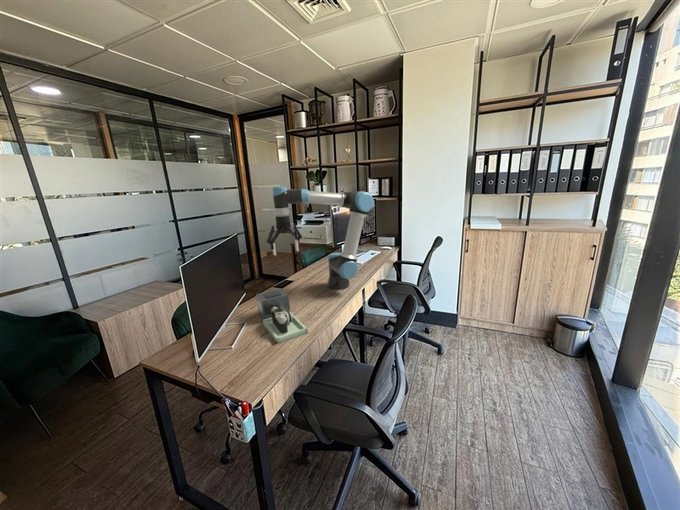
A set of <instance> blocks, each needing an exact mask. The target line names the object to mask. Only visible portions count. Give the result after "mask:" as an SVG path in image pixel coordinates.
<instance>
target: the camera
mask: <svg viewBox="0 0 680 510" xmlns="http://www.w3.org/2000/svg"><path fill="white" fill-rule="evenodd" d="M291 313H292V312H291V310H290V311H285V310H284V309H283V308H282V307H279V308H276V307H273V308H272V309H271V314H272V321H273V323H274V325H275V326H276V328H277V329H278V330H279V332H280V333H281V334H287V333H288V328H287V323H290V322H292V315H291Z"/></svg>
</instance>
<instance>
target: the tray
mask: <svg viewBox="0 0 680 510" xmlns="http://www.w3.org/2000/svg"><path fill="white" fill-rule="evenodd" d="M290 313H291V315H292V322H290V323H287V328H288V333H287V334H281V333H280V332H279V330H278V329H277V328H276V326H275V325H274V323H273V321H272V317H271V318H268V319H265V320H263V319H262V325H263V326H264V329H266V331H268V333H269V334H270V336H271V337H272V339H274V341H275V343H277V345H279V344H281V343H284V342H287V341H291V340H292V339H296V338H298V337H301V336H304V335H307V334H308V328H307V326H306V325H304V324H303V323H302V322H301V321H300V320H299V319H298V318H297V317H296V316H295V315H294V314H293V313H292V312H290Z"/></svg>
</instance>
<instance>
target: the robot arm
mask: <svg viewBox="0 0 680 510" xmlns="http://www.w3.org/2000/svg"><path fill="white" fill-rule="evenodd" d="M287 188H288V187H286V186H274V187H273V188H272V197H273V199H272V200H273V205H274V214H275V223H276V224H275V225H272V224H271V225H270V230H269V233H268V236H267V240H266V243H267V244H268V245H270V250H272V255H273V256H277V251H276V243H275V241H277V238H278V236H280V234H282V233H289V234H290V235H291V236H292V237H294V238H295V239H294V245H295V251H296V252H299V251H300V248H299V246H301V245H300V244H301V243H300V240H301V239H302V238H303V236H302V234H301V233H300V231H299V229H298V228H297V224H296V223H295V222H292V223H291V219H290V209H289V205H291V204H315V205H327V206H328V205H329V206H338V207H339V208H345V209H348V210H349V211H348V212H349V214H350V216H349V221H348V224H347V225H348V226H347V230H346V235H345V240H344V244H343V248H342V251H341V252H334V253H330V254H328V255H327V256H328V257H327V261H328V273H329V274H328V275H329V277H328V280H327V288H328V289H331V290H344V289H347V288H348V287H350V280H349V279H352V278H355V276H356V275H357V273H358V272H359V266H358V264H357V262H358V257H357V253H358V252H357V251H358V247H359V243H360V237H361V234H362V231H363V230H362V229H363V227H364V221H365V218H366V217H368V215H369V212H370V211H371V210H372V209H373V207H374V202H375V201H374V197H373V196H372V194H371V193H369V192H366V191H362V190H361V191H358V190H357V191H356V190H355V191H354V190H353V191H340V192H330V191H329V192H328V191H315V190H309V189H307V188H299V189H294V188H290V189H287ZM291 227H292V228H293V230H294V231H293V230H292V229H291ZM275 230H276V231H275ZM274 232H275V233H274Z"/></svg>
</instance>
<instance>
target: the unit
mask: <svg viewBox="0 0 680 510" xmlns="http://www.w3.org/2000/svg"><path fill="white" fill-rule="evenodd" d="M255 296H256V304H257V311H258V312H257V313H258V315H259V317H260V318H261V319H262V321H263V320H265V319H268V318H271V317H272V314H271V309H272V308H273V307H276V308H279V307H282V308H283V309H284V310H285V311H290V312H291V306H290V296H289V294H288V293H287V292H286V291H284V290H283V289H282V288H276V289H272V290H269V291H265V292H261V293H257V294H255Z"/></svg>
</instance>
